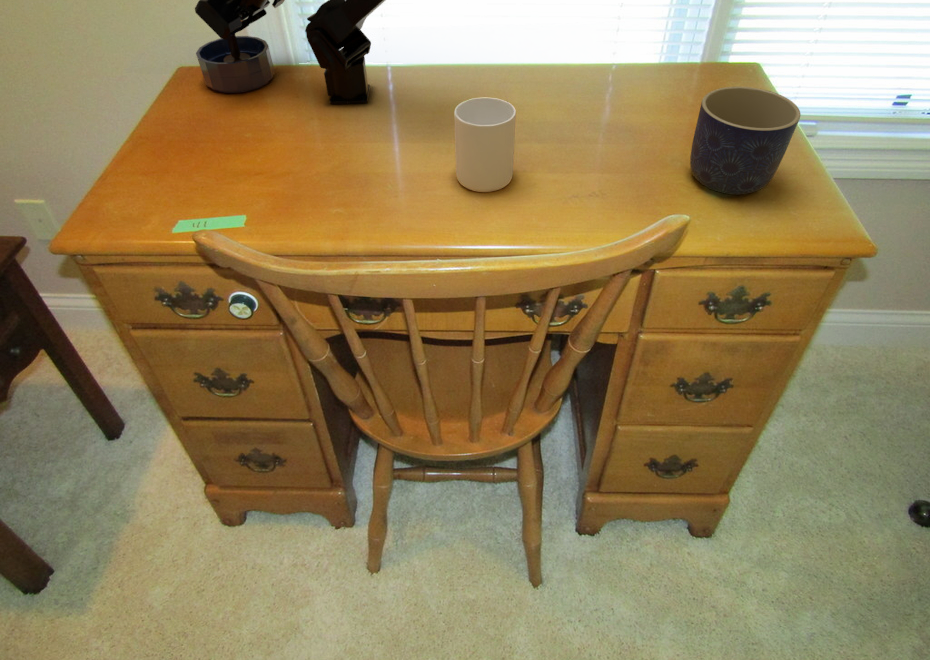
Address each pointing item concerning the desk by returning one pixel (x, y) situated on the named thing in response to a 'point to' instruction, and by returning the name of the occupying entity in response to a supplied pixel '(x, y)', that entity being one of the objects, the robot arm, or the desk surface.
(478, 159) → the mug
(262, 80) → the bowl
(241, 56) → the brown plunger
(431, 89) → the desk surface
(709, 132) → the planter
